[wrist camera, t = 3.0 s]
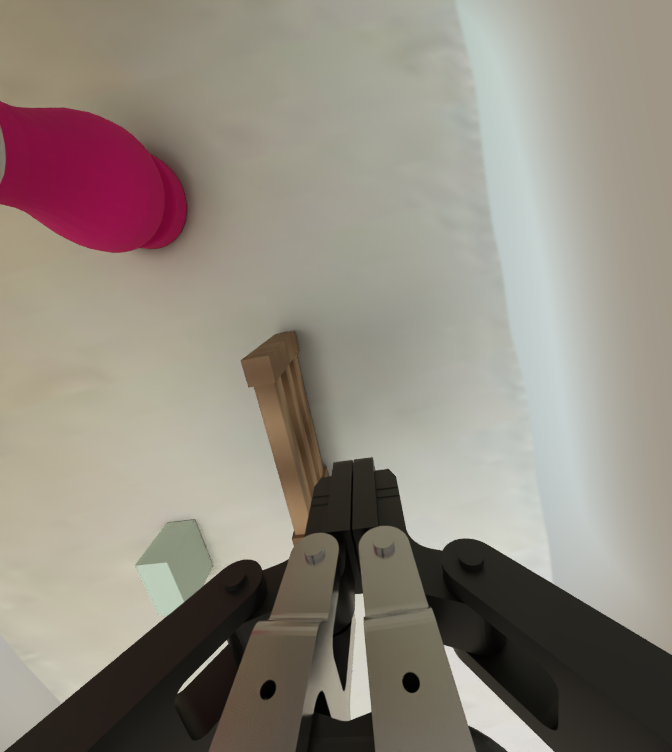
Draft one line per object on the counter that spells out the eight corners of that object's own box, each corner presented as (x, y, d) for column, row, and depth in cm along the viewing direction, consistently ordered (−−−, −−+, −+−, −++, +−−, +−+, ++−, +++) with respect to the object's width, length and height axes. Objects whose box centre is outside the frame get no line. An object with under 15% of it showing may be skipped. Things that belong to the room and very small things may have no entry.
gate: (275, 334, 25) (240, 360, 18) (294, 330, 25) (268, 355, 18) (312, 484, 29) (297, 557, 22) (329, 481, 29) (320, 555, 22)
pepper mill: (206, 173, 23) (-571, -344, 4) (179, 272, 25) (-398, 268, 6) (108, 125, 22) (-1408, -777, 3) (89, 230, 24) (-872, 76, 5)
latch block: (167, 522, 32) (134, 565, 28) (194, 519, 32) (166, 562, 27) (186, 568, 34) (158, 616, 29) (212, 565, 34) (189, 613, 29)
